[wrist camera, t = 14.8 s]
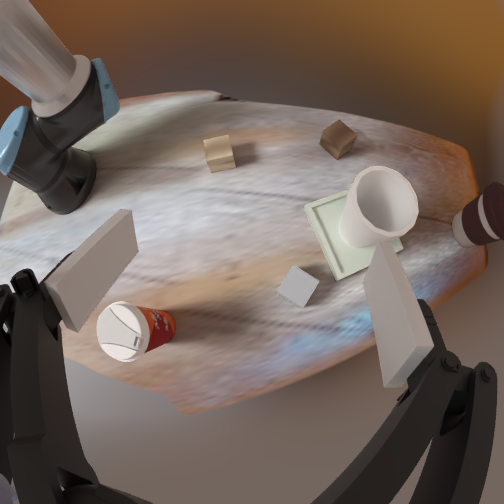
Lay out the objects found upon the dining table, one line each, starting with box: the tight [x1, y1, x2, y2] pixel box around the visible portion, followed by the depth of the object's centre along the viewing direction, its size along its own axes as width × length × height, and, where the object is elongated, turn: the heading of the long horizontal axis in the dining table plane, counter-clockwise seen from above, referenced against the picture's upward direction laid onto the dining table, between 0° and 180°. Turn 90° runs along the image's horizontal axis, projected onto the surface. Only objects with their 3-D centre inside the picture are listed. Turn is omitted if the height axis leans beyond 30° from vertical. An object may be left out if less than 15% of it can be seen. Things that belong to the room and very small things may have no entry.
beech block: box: [203, 134, 236, 173], centre depth 46 cm, size 4×4×4 cm
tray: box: [304, 189, 404, 281], centre depth 43 cm, size 13×13×2 cm
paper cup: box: [97, 301, 175, 362], centre depth 36 cm, size 8×8×14 cm
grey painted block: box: [276, 265, 320, 308], centre depth 40 cm, size 4×4×4 cm
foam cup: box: [339, 166, 419, 248], centre depth 36 cm, size 10×9×13 cm
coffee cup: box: [452, 182, 504, 247], centre depth 35 cm, size 10×10×15 cm
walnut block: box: [320, 120, 358, 160], centre depth 45 cm, size 4×4×4 cm
